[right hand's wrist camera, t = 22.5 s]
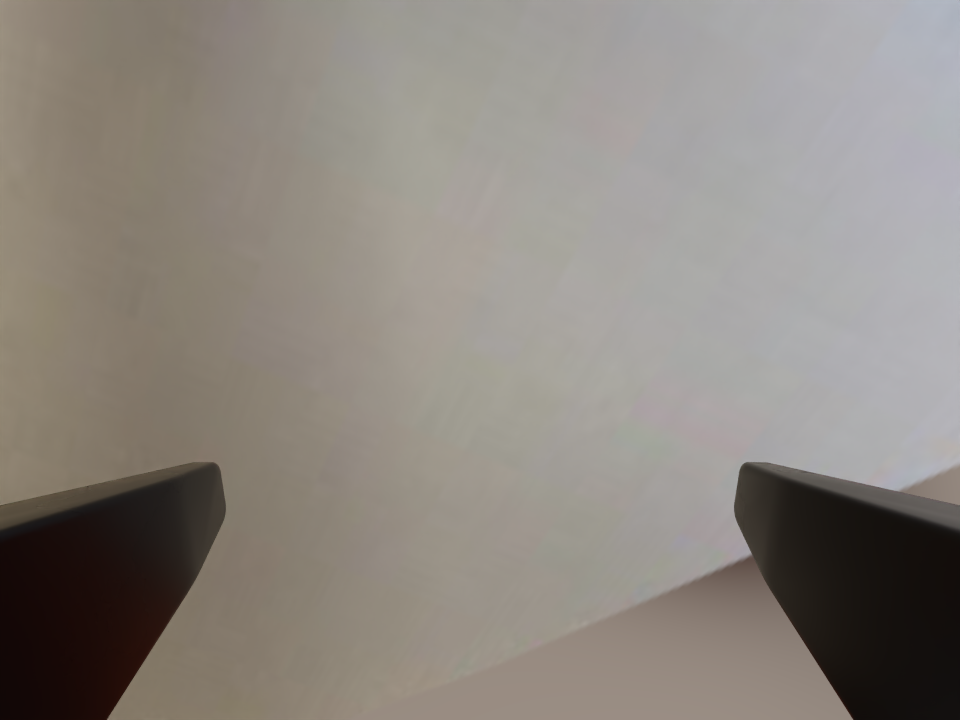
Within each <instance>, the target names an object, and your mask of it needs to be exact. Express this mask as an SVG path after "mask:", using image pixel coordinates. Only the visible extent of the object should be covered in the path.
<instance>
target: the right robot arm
mask: <svg viewBox="0 0 960 720" xmlns="http://www.w3.org/2000/svg"><path fill="white" fill-rule="evenodd" d="M225 512H226V503H225V497H224V490H223V484H222V477H221V471H220V468H219V466H218V465H217V464H216V463H214V462H194V463H189V464H184V465H180V466H175V467H171V468H166V469H162V470H157V471H153V472H148V473H144V474H139V475H135V476H130V477H126V478H121V479H117V480H112V481H108V482H103V483H99V484H94V485H90V486H85V487H81V488H76V489H72V490H67V491H63V492H59V493H54V494H50V495H45V496H41V497H36V498H32V499H27V500H23V501H18V502H14V503H9V504H5V505H0V720H107V718H108V717H109V715H110V714H111V712H112V711H113V709H114V707H115V706H116V704H117V703H118V701H119V700H120V698H121V696H122V695H123V693H124V692H125V690H126V689H127V687H128V686H129V684H130V682H131V681H132V679H133V678H134V676H135V675H136V673H137V671H138V670H139V668H140V667H141V665H142V664H143V662H144V660H145V659H146V657H147V656H148V654H149V653H150V651H151V649H152V648H153V646H154V645H155V643H156V642H157V640H158V638H159V637H160V635H161V634H162V632H163V631H164V629H165V628H166V626H167V624H168V623H169V621H170V620H171V618H172V617H173V615H174V613H175V612H176V610H177V609H178V607H179V606H180V604H181V602H182V601H183V599H184V598H185V596H186V595H187V593H188V591H189V590H190V588H191V586H192V585H193V583H194V581H195V580H196V578H197V576H198V574H199V572H200V570H201V568H202V566H203V563H204V561H205V559H206V557H207V555H208V553H209V551H210V549H211V546H212V544H213V542H214V540H215V538H216V536H217V534H218V532H219V529H220V527H221V525H222V523H223V521H224V517H225ZM734 512H735V517H736V521H737V523H738V525H739V527H740V529H741V532H742V534H743V536H744V538H745V540H746V542H747V544H748V546H749V549H750V551H751V553H752V555H753V557H754V559H755V561H756V563H757V565H758V568H759V570H760V572H761V574H762V576H763V578H764V580H765V581H766V583H767V585H768V586H769V588H770V590H771V591H772V593H773V595H774V596H775V598H776V599H777V601H778V602H779V604H780V605H781V607H782V609H783V610H784V612H785V613H786V615H787V616H788V618H789V620H790V621H791V623H792V624H793V626H794V627H795V629H796V631H797V632H798V634H799V635H800V637H801V638H802V640H803V641H804V643H805V645H806V646H807V648H808V649H809V651H810V653H811V654H812V656H813V657H814V659H815V660H816V662H817V663H818V665H819V667H820V668H821V670H822V671H823V673H824V674H825V676H826V678H827V679H828V681H829V682H830V684H831V685H832V687H833V689H834V690H835V692H836V693H837V695H838V696H839V698H840V699H841V701H842V703H843V704H844V706H845V707H846V709H847V711H848V712H849V714H850V715H851V717H852V718H853V720H960V505H955V504H951V503H947V502H942V501H938V500H933V499H929V498H924V497H920V496H915V495H911V494H906V493H902V492H897V491H893V490H888V489H884V488H879V487H875V486H870V485H866V484H861V483H857V482H852V481H848V480H843V479H839V478H834V477H830V476H825V475H821V474H816V473H812V472H807V471H803V470H798V469H794V468H789V467H785V466H780V465H776V464H771V463H766V462H746V463H744V464H743V465H742V466H741V468H740V471H739V477H738V484H737V490H736V497H735V503H734Z"/></svg>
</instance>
